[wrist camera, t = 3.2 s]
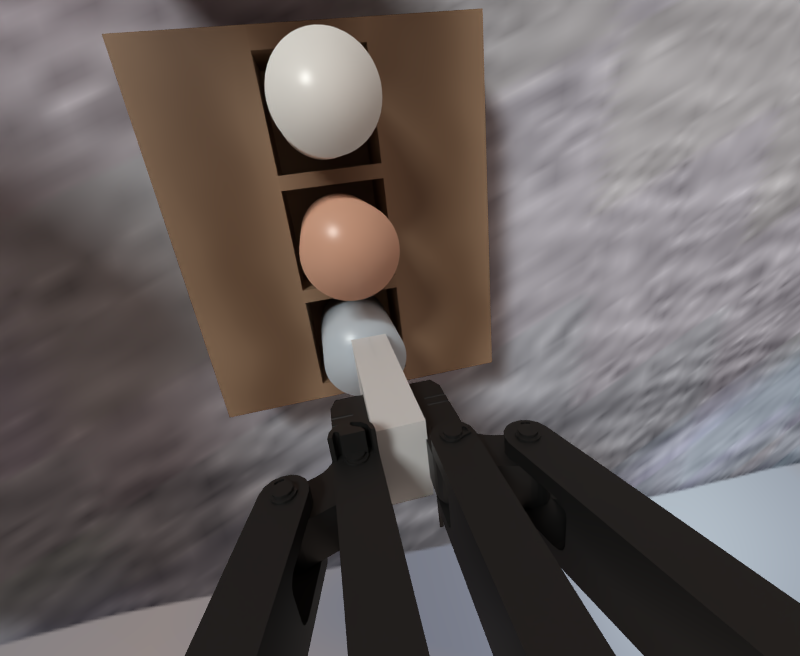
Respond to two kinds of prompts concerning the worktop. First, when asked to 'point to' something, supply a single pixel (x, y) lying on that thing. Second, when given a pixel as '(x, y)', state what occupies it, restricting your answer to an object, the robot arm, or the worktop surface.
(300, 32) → the white egg
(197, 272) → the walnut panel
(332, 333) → the pale blue egg
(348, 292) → the brown egg
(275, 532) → the robot arm
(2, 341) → the worktop surface
